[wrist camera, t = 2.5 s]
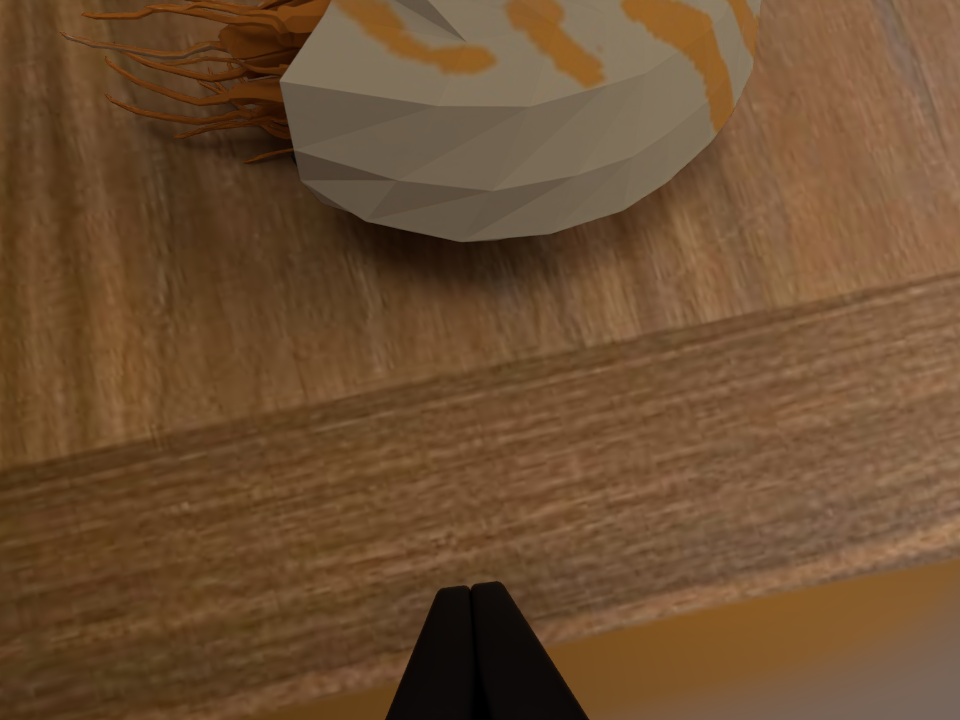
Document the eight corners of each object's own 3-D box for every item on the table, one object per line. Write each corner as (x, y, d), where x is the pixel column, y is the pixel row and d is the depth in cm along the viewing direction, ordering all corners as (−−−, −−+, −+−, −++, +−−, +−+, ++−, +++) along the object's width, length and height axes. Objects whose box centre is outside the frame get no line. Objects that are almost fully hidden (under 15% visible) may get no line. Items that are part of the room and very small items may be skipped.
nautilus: (99, 277, 24) (189, -57, 29) (731, 311, 22) (721, -49, 27) (-92, 139, 17) (69, -285, 21) (836, 175, 15) (798, -294, 19)
